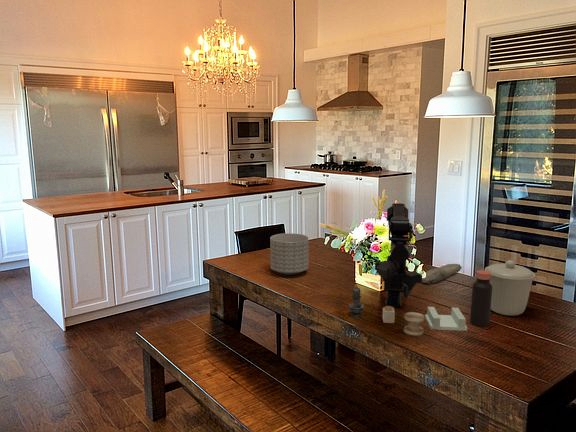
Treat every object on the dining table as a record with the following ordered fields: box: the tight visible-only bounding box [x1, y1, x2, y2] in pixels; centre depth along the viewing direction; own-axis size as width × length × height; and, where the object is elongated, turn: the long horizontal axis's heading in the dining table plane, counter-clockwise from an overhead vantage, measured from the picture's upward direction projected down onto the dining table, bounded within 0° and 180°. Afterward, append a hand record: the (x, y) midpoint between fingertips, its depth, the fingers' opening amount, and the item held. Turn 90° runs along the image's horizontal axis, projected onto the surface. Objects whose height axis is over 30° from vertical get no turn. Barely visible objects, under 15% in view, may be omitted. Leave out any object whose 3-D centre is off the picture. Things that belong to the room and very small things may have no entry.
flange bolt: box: [348, 285, 365, 318], centre depth 186 cm, size 6×6×12 cm
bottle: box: [469, 269, 492, 327], centre depth 177 cm, size 7×7×20 cm
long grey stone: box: [421, 263, 463, 285], centre depth 234 cm, size 35×5×10 cm
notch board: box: [424, 306, 468, 332], centre depth 178 cm, size 11×13×4 cm
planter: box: [269, 232, 309, 276], centre depth 237 cm, size 19×19×18 cm
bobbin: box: [403, 311, 425, 337], centre depth 171 cm, size 7×7×6 cm
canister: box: [484, 259, 536, 317], centre depth 189 cm, size 18×18×21 cm
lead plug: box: [382, 305, 396, 324], centre depth 181 cm, size 4×4×6 cm
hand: (396, 294), depth 174 cm, fingers open, 9 cm apart
